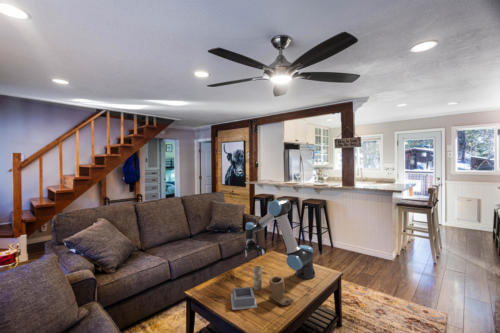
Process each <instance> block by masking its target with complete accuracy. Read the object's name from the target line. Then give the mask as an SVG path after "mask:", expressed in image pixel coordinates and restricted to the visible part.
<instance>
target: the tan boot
mask: <svg viewBox="0 0 500 333" xmlns="http://www.w3.org/2000/svg"><path fill="white" fill-rule="evenodd" d="M268 281H269V282H268V283H269V286H270V289H271V292H272V293H270V295H269V296H270V298H271V299H272V300H273V301H274V302H276V303H278V304H279V305H282V306H288V305H291V304H292V303H293V302H294V301H295V299H294V298H292V297H290V295H287V294H286V293H285V287H286V285H285V279H284V278H283V277H282V276H278V275H276V276H271V277H270V279H269V280H268Z"/></svg>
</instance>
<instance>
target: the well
mask: <svg viewBox="0 0 500 333" xmlns="http://www.w3.org/2000/svg"><path fill="white" fill-rule="evenodd" d="M253 290H254V289H253V286H247V287H246V286H245V287H233V288H232V293H231V294H230V301H231V310H232V311H234V310H235V311H236V310H247V309H256V308H258V304H257V301H256V297H255V294H254V293H255V292H254V291H253Z"/></svg>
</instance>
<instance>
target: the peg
mask: <svg viewBox="0 0 500 333" xmlns="http://www.w3.org/2000/svg"><path fill="white" fill-rule="evenodd" d="M252 270H253V282H252V284H253V286H252V289H253V290H254V291H261V290H262V287H263V285H262V284H263V283H262V281H263V280H262V279H263V277H262V276H263V275H262V273H263V268H262V266H259V265H256V266H253V269H252Z"/></svg>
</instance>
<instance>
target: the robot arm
mask: <svg viewBox="0 0 500 333" xmlns="http://www.w3.org/2000/svg"><path fill="white" fill-rule="evenodd" d="M291 208H292V203H291V201H290V199H287V198H285V197H284V198H279V199H275V200H272V201H270V203H269V204H268V213H267V214H266V215H264V216H263V217H262V218H261V219H259V220H258V221H256V222H250V221H249V222H246V223H245V236H244V241H245V243H246V245H243V247H242V248H241V249H240V254H243V255H244V256H245V258H247V257H248V253H247V252H249V251H259V252H261V254H262V256H263V257H265V254H266V252H267V248H266V247H264V246H262V245H261V244H259V245H257V244H256V242H255V233H256V232H259V231H262V230H264V229H265V227H267V225H270V223H272V222H273V221H274V220H276V221H277V224H278V227H279V230H280V233H281V236H282V238H283V241H284V244H285V246H286V250H287V251H286V256H287V257H286V264H287V266H288V267H289V268H290V269H291V270H294V271H295V275H296V276H297V277H298V278H300V279H303V280H311V279H314V278H315V277H316V272H315V269H314V248H313V247H311V246H310V245H305V244H302V245H301V244H300V245H299V244H298V242H297V240H296V236H295V234H294V231H293V229H292V226H291V223H290V220H289V218H288V215H289V211H290V210H291Z"/></svg>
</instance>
